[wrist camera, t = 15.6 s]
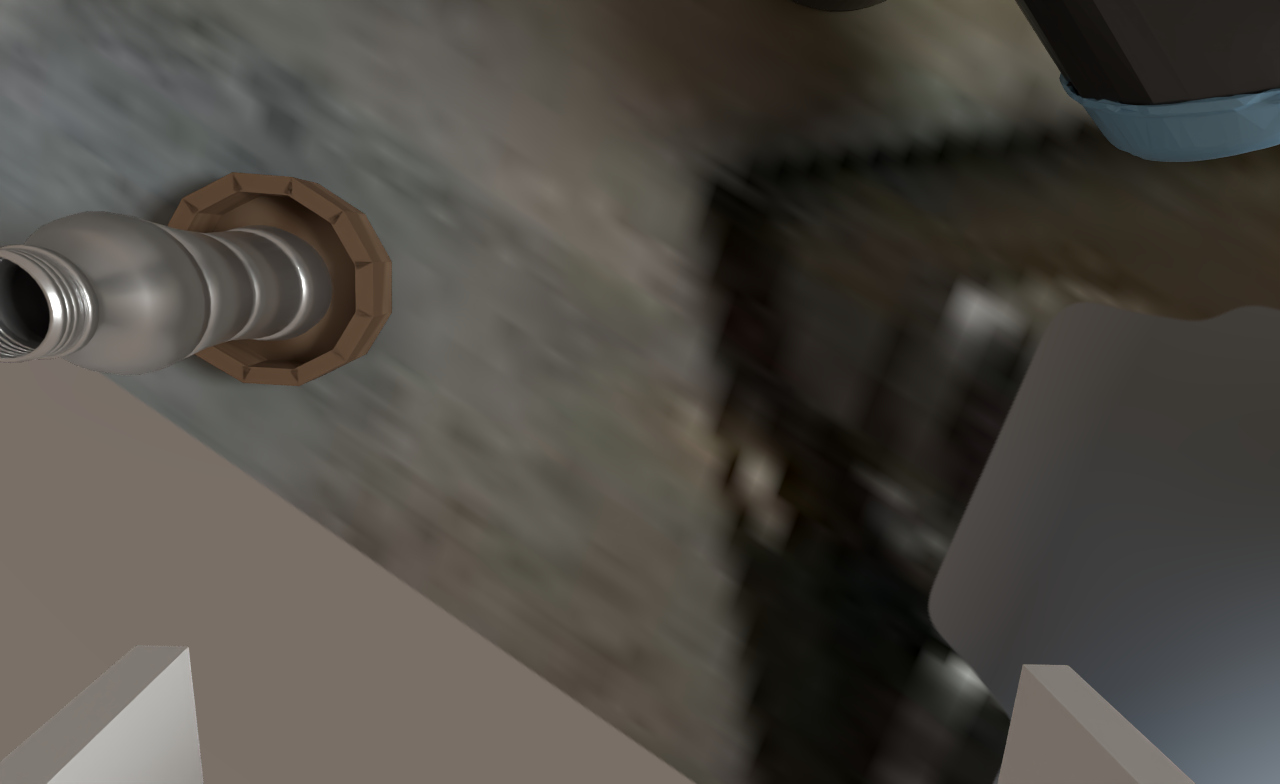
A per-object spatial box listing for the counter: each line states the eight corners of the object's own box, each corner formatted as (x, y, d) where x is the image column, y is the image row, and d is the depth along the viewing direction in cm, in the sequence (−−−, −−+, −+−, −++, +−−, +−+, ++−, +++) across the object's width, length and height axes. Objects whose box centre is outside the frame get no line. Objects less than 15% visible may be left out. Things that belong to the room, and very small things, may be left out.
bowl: (391, 189, 41) (371, 183, 37) (392, 379, 43) (374, 390, 40) (188, 173, 40) (150, 165, 36) (201, 368, 42) (165, 378, 39)
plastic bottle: (294, 356, 41) (18, 448, 22) (209, 275, 40) (-165, 295, 21) (366, 287, 41) (149, 319, 21) (283, 203, 39) (-31, 153, 20)
